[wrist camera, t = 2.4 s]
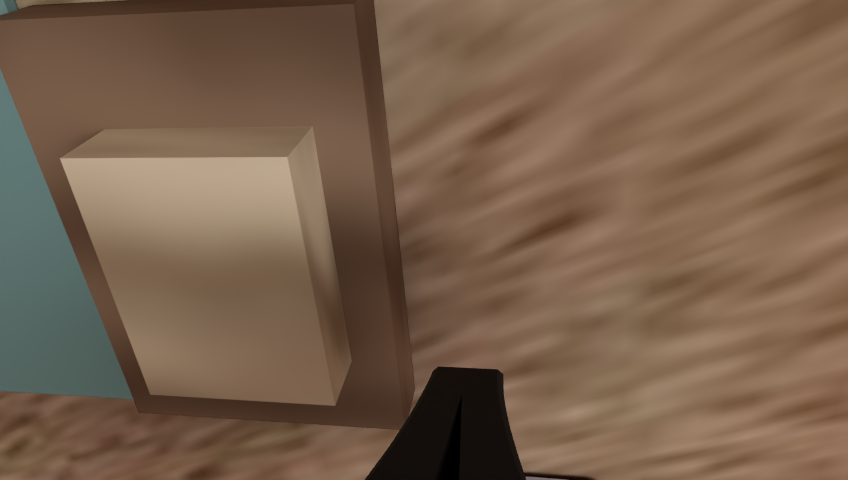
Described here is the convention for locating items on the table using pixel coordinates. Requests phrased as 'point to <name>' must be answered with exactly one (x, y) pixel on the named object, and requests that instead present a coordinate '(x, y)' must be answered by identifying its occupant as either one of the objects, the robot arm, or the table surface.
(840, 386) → the table surface
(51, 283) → the teal mat
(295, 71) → the board
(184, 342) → the block
